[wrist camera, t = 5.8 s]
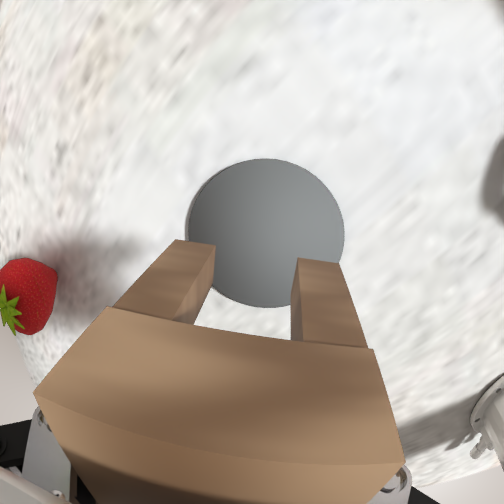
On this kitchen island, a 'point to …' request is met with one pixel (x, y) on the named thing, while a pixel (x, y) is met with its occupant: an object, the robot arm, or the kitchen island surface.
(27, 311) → the strawberry
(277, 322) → the kitchen island surface
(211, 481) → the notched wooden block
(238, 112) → the kitchen island surface
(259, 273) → the mat
